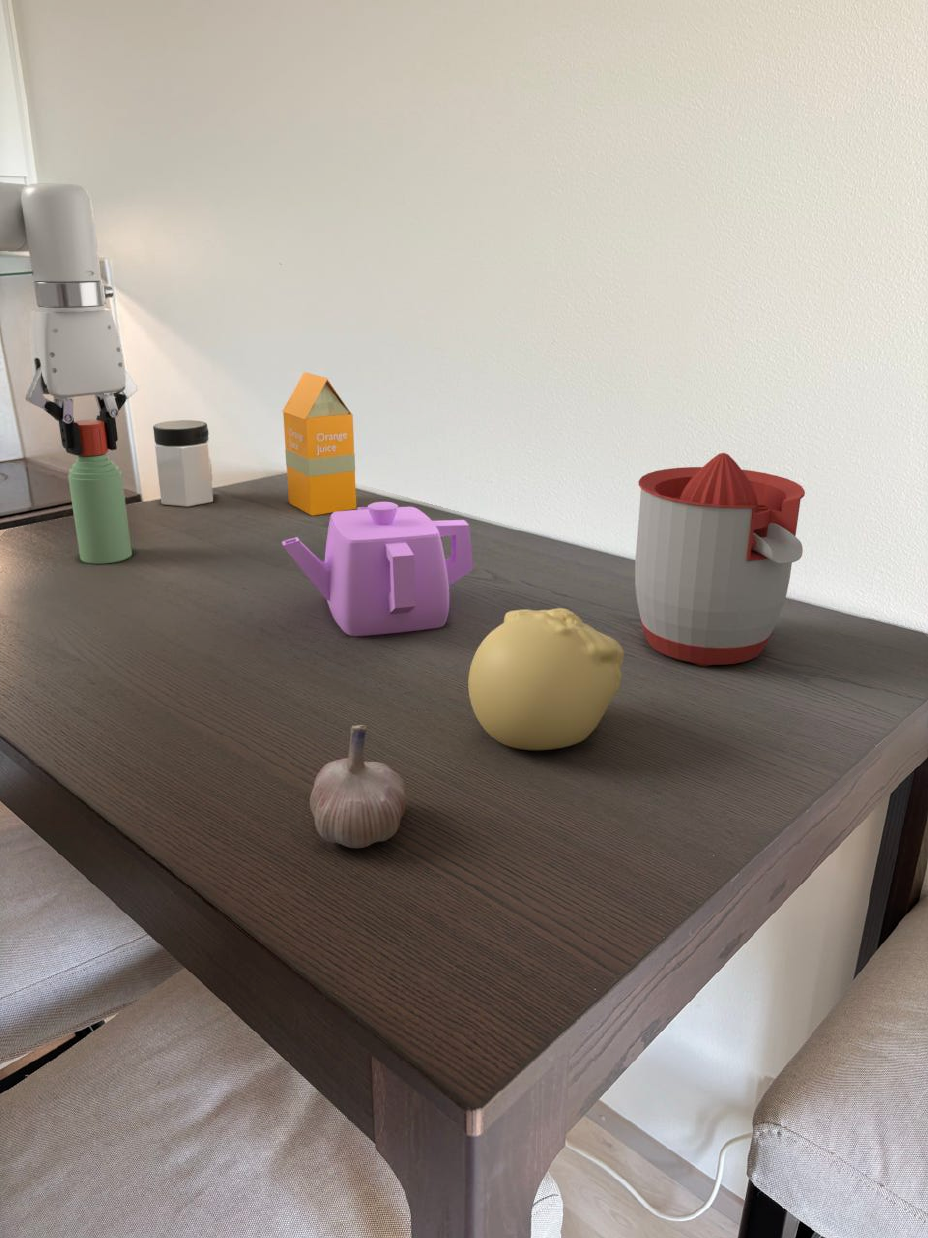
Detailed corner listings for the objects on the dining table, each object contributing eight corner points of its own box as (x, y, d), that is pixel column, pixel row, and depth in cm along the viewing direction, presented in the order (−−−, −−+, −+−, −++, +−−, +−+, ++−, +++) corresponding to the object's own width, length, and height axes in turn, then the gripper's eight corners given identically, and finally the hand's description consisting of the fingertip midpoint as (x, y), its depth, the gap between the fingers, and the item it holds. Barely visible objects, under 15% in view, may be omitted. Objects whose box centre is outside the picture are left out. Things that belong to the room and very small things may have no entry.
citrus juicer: (714, 698, 87) (738, 482, 80) (596, 634, 101) (607, 446, 94) (830, 662, 94) (862, 462, 87) (705, 608, 108) (723, 431, 101)
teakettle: (412, 652, 96) (410, 534, 92) (277, 622, 104) (269, 512, 99) (487, 600, 110) (488, 496, 106) (363, 577, 118) (360, 478, 113)
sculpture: (637, 732, 81) (647, 614, 77) (541, 783, 73) (547, 654, 69) (537, 689, 89) (541, 579, 85) (441, 731, 81) (441, 612, 77)
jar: (214, 505, 149) (207, 428, 145) (159, 508, 147) (150, 430, 143) (214, 492, 157) (208, 418, 153) (163, 494, 155) (155, 420, 151)
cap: (84, 457, 118) (79, 426, 116) (69, 452, 120) (65, 422, 119) (113, 452, 120) (109, 422, 119) (99, 448, 123) (95, 418, 121)
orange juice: (332, 496, 155) (326, 370, 147) (357, 508, 148) (352, 376, 140) (287, 503, 151) (279, 373, 143) (310, 515, 144) (303, 380, 136)
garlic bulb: (364, 787, 72) (361, 692, 70) (435, 824, 68) (434, 724, 65) (286, 830, 67) (278, 729, 64) (357, 873, 63) (352, 766, 60)
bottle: (70, 561, 123) (49, 429, 117) (98, 547, 129) (80, 420, 122) (114, 565, 122) (96, 431, 115) (141, 550, 127) (125, 422, 121)
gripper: (120, 293, 121) (138, 438, 128) (-15, 298, 110) (12, 456, 117) (150, 296, 116) (166, 446, 123) (12, 301, 105) (38, 465, 112)
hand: (91, 449), depth 120 cm, fingers closed on cap, 3 cm apart
